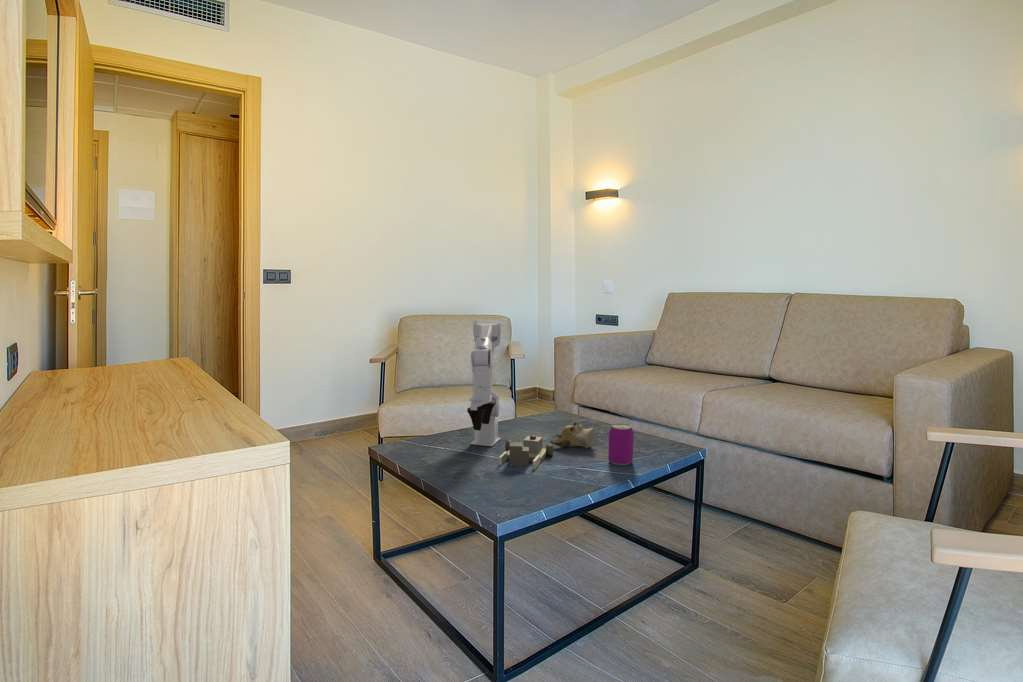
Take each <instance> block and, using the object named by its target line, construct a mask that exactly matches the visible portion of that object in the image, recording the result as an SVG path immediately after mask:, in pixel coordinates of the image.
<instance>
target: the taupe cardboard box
mask: <svg viewBox="0 0 1023 682" xmlns="http://www.w3.org/2000/svg"><path fill="white" fill-rule="evenodd" d="M522 446H523V442H522V441H521V442H520V441H519V442H515V441H513V442H510V456H509V459H508V460H509V462H508V463H509V467H530V466H529V465H530V464H529V447H522Z"/></svg>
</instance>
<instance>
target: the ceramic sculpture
mask: <svg viewBox="0 0 1023 682" xmlns="http://www.w3.org/2000/svg"><path fill="white" fill-rule="evenodd" d="M595 434H596V428H595V427H592V428H584V427H583V426H582V425H581V424H580V423H577V422H573V424H572V425H566V426H565V427H564V428H563V429H562V431H561V434H555V436H556V437H557V439H555V440H552V441H550V442H549V443H550V444H551V445H555V446H558V447H573V448H575V447H578V446H579V447H580V446H581V447H582V446H583V447H584V448H585V449H589V448H590V447H592V444H593V441H594V439H595V436H596V435H595Z"/></svg>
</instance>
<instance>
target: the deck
mask: <svg viewBox="0 0 1023 682" xmlns="http://www.w3.org/2000/svg"><path fill="white" fill-rule="evenodd" d="M510 442H514V441H513V440H511V439H509V440H506V442H505V445H504V448H505V451H504V452H502V454H500V456H499V457H498V465H499V466H503V464H504V463H505V462H506V461H507V460H509V456H510ZM522 447H529V462H530V463H532V470H536V469H537V467H538V466H539V465H540V464H541V463H542V462H543V461H544V460H545V458H546V457H547V456H548V457H549V456H551V457H553V455H554V451H555V449H554V448H555V446H554V444H548V443H547V445H546V447H545V448H543V437H542V436H537V435H535V434H534V435H533V434H531V435H527V436H526V437H524V439H523V445H522Z"/></svg>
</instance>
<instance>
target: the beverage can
mask: <svg viewBox="0 0 1023 682" xmlns="http://www.w3.org/2000/svg"><path fill="white" fill-rule="evenodd" d="M610 426H611V427H610V428H609V430H608V457H607V459H608V460H609V462H610V463H611V464H613V465H616V466H627V465H628V466H629V465H630V464H631V463H632V462H633V459H634V436H635V434H634V430H633V427H632V425H631V424H628V423H623V422H615V423H611V425H610Z"/></svg>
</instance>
